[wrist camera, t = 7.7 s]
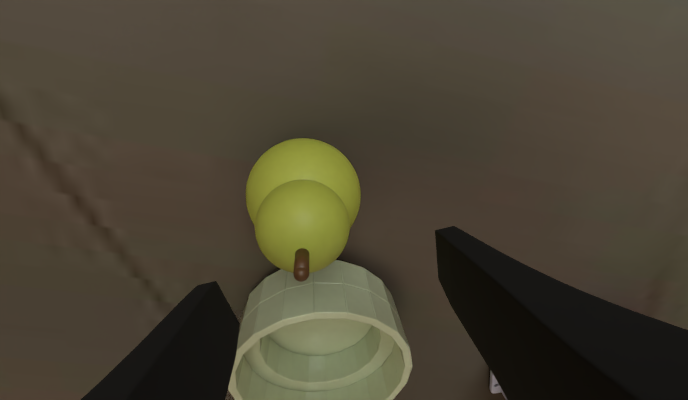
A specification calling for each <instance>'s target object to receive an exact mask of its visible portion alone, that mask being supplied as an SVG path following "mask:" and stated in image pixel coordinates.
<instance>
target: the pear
mask: <svg viewBox="0 0 688 400" xmlns="http://www.w3.org/2000/svg"><path fill="white" fill-rule="evenodd" d="M360 199H361V191H360V184H359V180H358V177H357V174H356V172H355V170H354V168H353V166H352V165H351V163H350V162H349V160H348V159H347V158H346V157H345V156H344V155H343V154H342V153H341V152H340V151H339V150H337V149H336V148H334V147H333V146H331V145H329V144H327V143H325V142H322V141H319V140H315V139H308V138H297V139H291V140H287V141H284V142H282V143H279V144H277V145H275V146H273V147H272V148H270V149H269V150H267V151H266V152H265V153H264V154H263V155H262V156H261V157H260V158H259V159H258V161H257V162H256V163H255V165H254V166H253V168H252V170H251V172H250V175H249V178H248V181H247V185H246V205H247V209H248V212H249V215H250V218H251V220H252V222H253V224H254V225H255V235H256V239H257V242H258V245H259V247H260V249H261V251H262V253H263V254H264V255H265V257H266V258H267V259H268V260H269V261H270V262H271V263H273V264H274V265H275V266H277V267H278V268H280V269H282V270H285V271H287V272H291V273H293V275H294V278H295V279H296V280H297V281H299V282H303V281H305V280H307V279H308V277H309V273H312V272H316V271H319V270H321V269H323V268H325V267H327V266H328V265H330V264H331V263H332V262H334V261H335V260H336V259H337V258H338V256H339V255H340V254H341V252H342V251H343V249H344V247H345V245H346V243H347V240H348V237H349V230H350V228H351V226H352V225H353V223H354V221H355V219H356V216H357V214H358V211H359V206H360Z"/></svg>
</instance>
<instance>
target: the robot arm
mask: <svg viewBox="0 0 688 400" xmlns="http://www.w3.org/2000/svg"><path fill="white" fill-rule="evenodd" d="M435 235H436V249H437V264H438V278H439V280H440V283H441V285H442V287H443V289H444V291H445V294H446V296H447V298H448V300H449V302H450V304H451V306H452V308H453V310H454V311H455V313H456V315H457V316H458V318H459V320H460V321H461V323H462V324H463V326H464V328H465V329H466V331H467V333H468V334H469V336H470V337H471V339H472V341H473V342H474V344H475V345H476V347H477V349H478V350H479V352H480V354H481V355H482V357H483V358H484V360H485V362H486V363H487V365H488V367H489V368H490V386H489V389H490V391H491V393H494V394H495V393H500V392H502V394H503V396H504V397H505V399H506V400H688V330H686V329H683V328H680V327H677V326H674V325H671V324H668V323H666V322H663V321H660V320H657V319H654V318H651V317H648V316H645V315H643V314H640V313H637V312H634V311H631V310H629V309H626V308H623V307H621V306H618V305H615V304H613V303H610V302H608V301H605V300H603V299H600V298H598V297H595V296H593V295H591V294H588V293H586V292H583V291H581V290H578V289H576V288H574V287H571V286H569V285H567V284H564V283H562V282H560V281H558V280H556V279H554V278H551V277H549V276H547V275H545V274H543V273H541V272H539V271H537V270H534V269H532V268H530V267H528V266H526V265H524V264H522V263H520V262H519V261H517V260H515V259H513V258H511V257H509V256H507V255H505V254H503V253H501V252H500V251H498V250H496V249H494V248H492V247H491V246H489V245H487V244H485V243H483V242H482V241H480V240H478V239H476V238H475V237H473V236H471V235H469V234H467V233H466V232H464V231H462V230H460V229H458V228H457V227H455V226H452V227H448V228H443V229H439V230H435ZM239 327H240V323H239V322H238V320H237V318H236V316H235V314H234V313H233V311H232V309H231V307H230V305H229V304H228V302H227V300H226V298H225V296H224V294H223V293H222V291H221V289H220V287H219V285H218V284H217V282H216V281H215V282H210V283H206V284H202V285H198V286H197V287H195V288H194V289H193V290H192V291H191V292H190V293H189V294H188V295H187V296H186V297H185V298H184V299H183V300H182V301H181V302H180V303H179V304H178V305H177V306H176V307H175V308H174V309H173V310H172V311H171V312H170V313H169V314H168V315H167V316H166V317H165V318H164V319H163V320H162V321H161V322H160V323H159V324H158V325H157V326H156V327H155V328H154V329H153V330H152V332H151V333H150V334H149V335H148V336H147V337H146V338H145V339H144V340H143V341H142V342H141V343H140V344H139V345H138V346H137V347H136V348H135V349H134V350H133V351H132V352H131V353H130V354H129V355H128V356H126V357H125V358H124V359H123V360H122V361H121V362H120V363H119V364H118V365H117V366H116V367H115V368H114V369H113V370H112V371H111V372H110V373H109V374H108V375H107V376H106V377H105V378H104V379H103V380H102V381H101V382H100V383H99V384H97V385H96V386H95V387H94V388H93V389H92V390H91V391H90V392H89V393H88V394H87V395H85V396H84V397H83V398H82V399H81V400H225V397H226V393H227V389H228V386H229V382H230V378H231V374H232V370H233V366H234V362H235V358H236V351H237V345H238V336H239Z"/></svg>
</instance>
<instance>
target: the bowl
mask: <svg viewBox="0 0 688 400" xmlns="http://www.w3.org/2000/svg"><path fill="white" fill-rule="evenodd" d="M411 369H412V359H411V352H410V347H409V344H408V341H407V338H406V335H405V332H404V330H403V327H402V324H401V321H400V318H399V315H398V312H397V309H396V306H395V303H394V300H393V297H392V295H391V293H390V292H389V290H388V289H387V287H386V286H385V284H384V283H383V281H382V280H381V279H379V278H378V277H376V276H375V275H374V274H372V273H371V272H369V271H368V270H366V269H365V268H363V267H361V266H357V265H354V264H350V263H347V262H344V261H340V260H335V261H334V262H332V263H331V264H330V265H328V266H327V267H325V268H323V269H321V270H319V271H316V272H312V273H309V277H308V279H307V280H305V281H303V282H299V281H297V280H296V279H295V278H294V275H293V273H291V272H287V271H285V270H282V269H280V270H279V271H277V272H275V273H273V274H271V275H269V276H267V277H266V278H265V279H264V280H263V281H262V282H261V283H260V284H259V285H258V286H257V287H256V288H255V289H254V290H253V291H252V292H251V293H250V295H249V297H248V299H247V302H246V304H245V307H244V309H243V312H242V316H241V320H240V327H239V336H238V345H237V351H236V358H235V362H234V366H233V370H232V374H231V378H230V382H229V386H228V390H229V392H230V393H231V395H232V396H233V398H234V399H235V400H393V399H394V398H395V397H396V396H397V394H398V393H399V392H400V391H401V390H402V388H403V387H404V386H405V385H406V383H407V381H408V378H409V375H410V372H411Z"/></svg>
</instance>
